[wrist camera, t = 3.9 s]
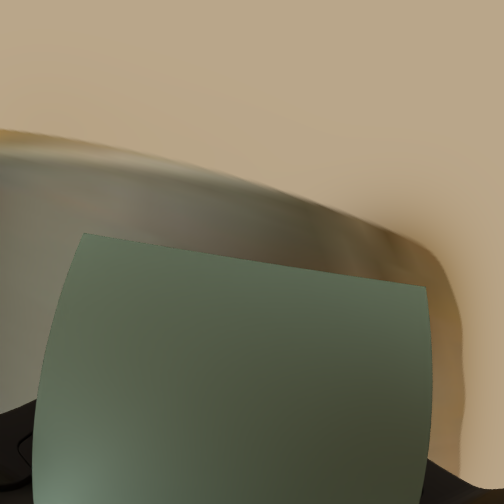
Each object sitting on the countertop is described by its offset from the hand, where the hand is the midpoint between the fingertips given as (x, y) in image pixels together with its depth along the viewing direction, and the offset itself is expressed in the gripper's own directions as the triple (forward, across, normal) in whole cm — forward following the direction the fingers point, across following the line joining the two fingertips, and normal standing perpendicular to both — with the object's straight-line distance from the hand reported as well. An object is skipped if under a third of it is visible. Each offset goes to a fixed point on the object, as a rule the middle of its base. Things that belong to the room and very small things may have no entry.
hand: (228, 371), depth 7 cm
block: (+4, 0, +6) cm, 7 cm away
